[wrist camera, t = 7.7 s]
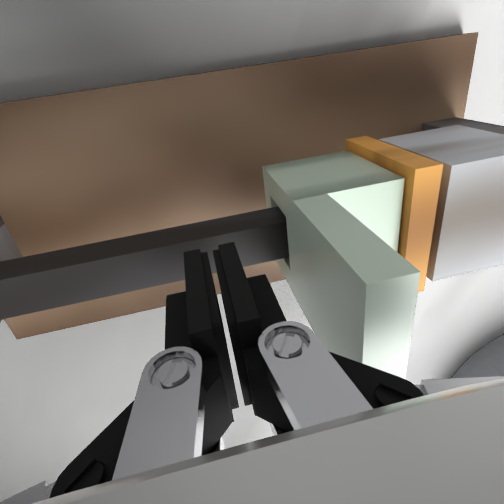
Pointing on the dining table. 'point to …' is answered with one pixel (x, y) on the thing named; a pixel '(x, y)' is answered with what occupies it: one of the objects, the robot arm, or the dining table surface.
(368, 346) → the mint green stepped block
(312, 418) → the robot arm
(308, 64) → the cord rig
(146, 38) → the dining table surface
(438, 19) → the dining table surface
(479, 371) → the tape roll
